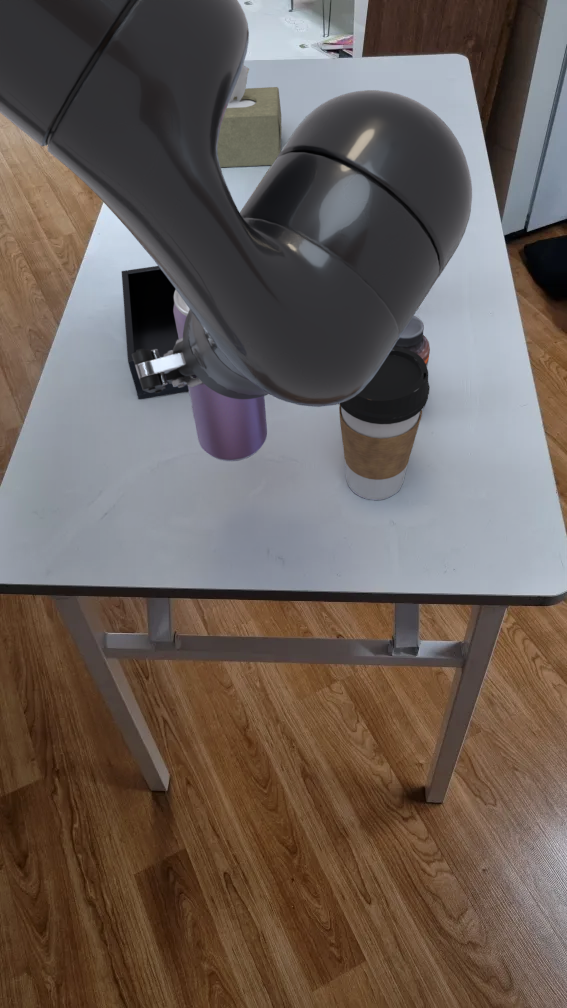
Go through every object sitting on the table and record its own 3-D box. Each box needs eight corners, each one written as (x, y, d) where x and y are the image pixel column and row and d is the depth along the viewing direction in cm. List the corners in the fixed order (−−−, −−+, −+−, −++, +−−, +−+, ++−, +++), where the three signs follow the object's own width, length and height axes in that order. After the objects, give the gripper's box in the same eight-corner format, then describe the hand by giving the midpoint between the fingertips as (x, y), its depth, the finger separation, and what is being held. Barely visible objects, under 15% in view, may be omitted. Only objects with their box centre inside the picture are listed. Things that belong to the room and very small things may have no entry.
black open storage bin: (138, 399, 84) (127, 361, 80) (131, 309, 95) (121, 270, 91) (285, 376, 86) (283, 337, 81) (262, 289, 96) (259, 250, 92)
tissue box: (167, 170, 118) (148, 64, 105) (173, 141, 124) (156, 38, 111) (282, 165, 117) (277, 57, 104) (282, 136, 123) (277, 32, 110)
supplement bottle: (370, 425, 80) (376, 344, 71) (366, 388, 84) (371, 307, 75) (424, 423, 80) (437, 342, 71) (418, 386, 84) (429, 305, 75)
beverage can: (266, 464, 60) (253, 317, 49) (196, 465, 61) (166, 319, 49) (268, 414, 64) (256, 266, 52) (202, 415, 64) (175, 268, 53)
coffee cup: (406, 517, 72) (422, 410, 60) (325, 500, 74) (324, 393, 62) (422, 456, 77) (439, 346, 65) (345, 442, 79) (348, 332, 67)
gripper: (352, 235, 42) (289, 294, 59) (111, 294, 40) (115, 339, 56) (384, 360, 43) (313, 384, 60) (152, 426, 41) (144, 432, 57)
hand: (218, 362), depth 58 cm, fingers closed on beverage can, 6 cm apart
